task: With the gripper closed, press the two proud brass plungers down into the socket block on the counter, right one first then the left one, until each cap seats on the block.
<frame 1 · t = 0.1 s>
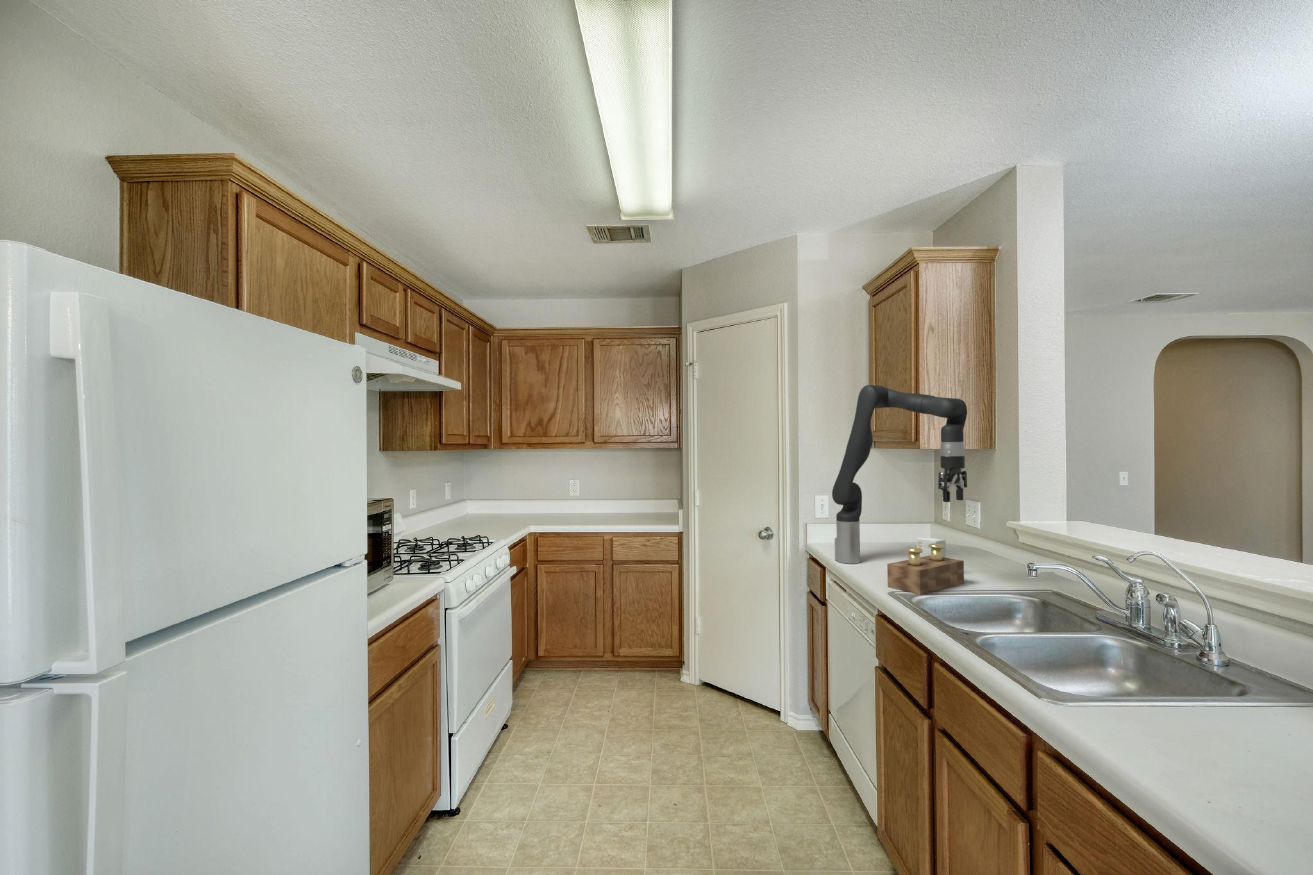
hand: (953, 501, 190), 29 cm above the worktop, fingers open, 8 cm apart
plunger right: (914, 561, 186), point 9 cm above the worktop, slide at 0.0 cm
small box: (931, 573, 206), on the worktop
socket block: (926, 585, 189), on the worktop
plunger left: (936, 556, 193), point 9 cm above the worktop, slide at 0.0 cm
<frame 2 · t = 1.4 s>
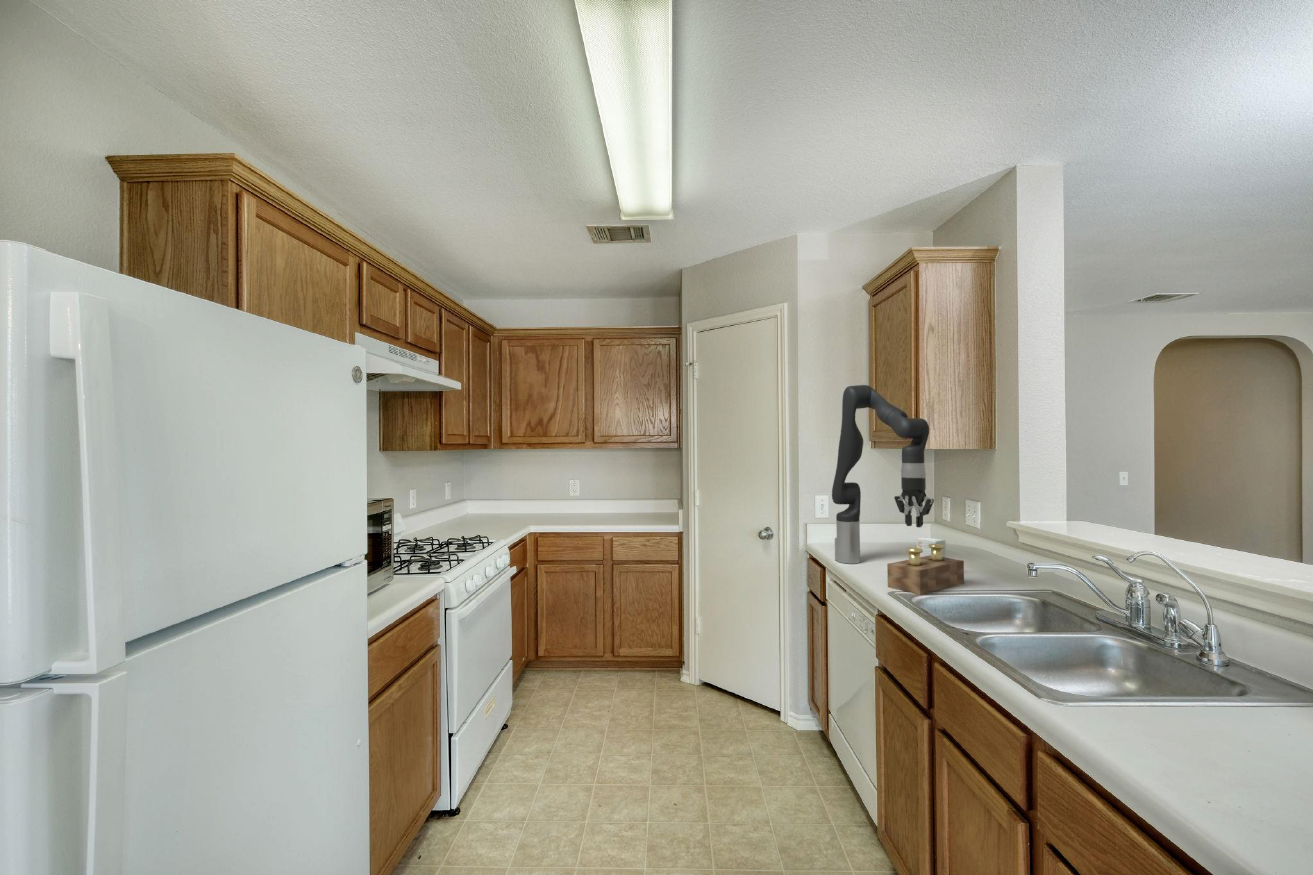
hand: (914, 526, 186), 21 cm above the worktop, fingers open, 3 cm apart
nothing on the worktop moved.
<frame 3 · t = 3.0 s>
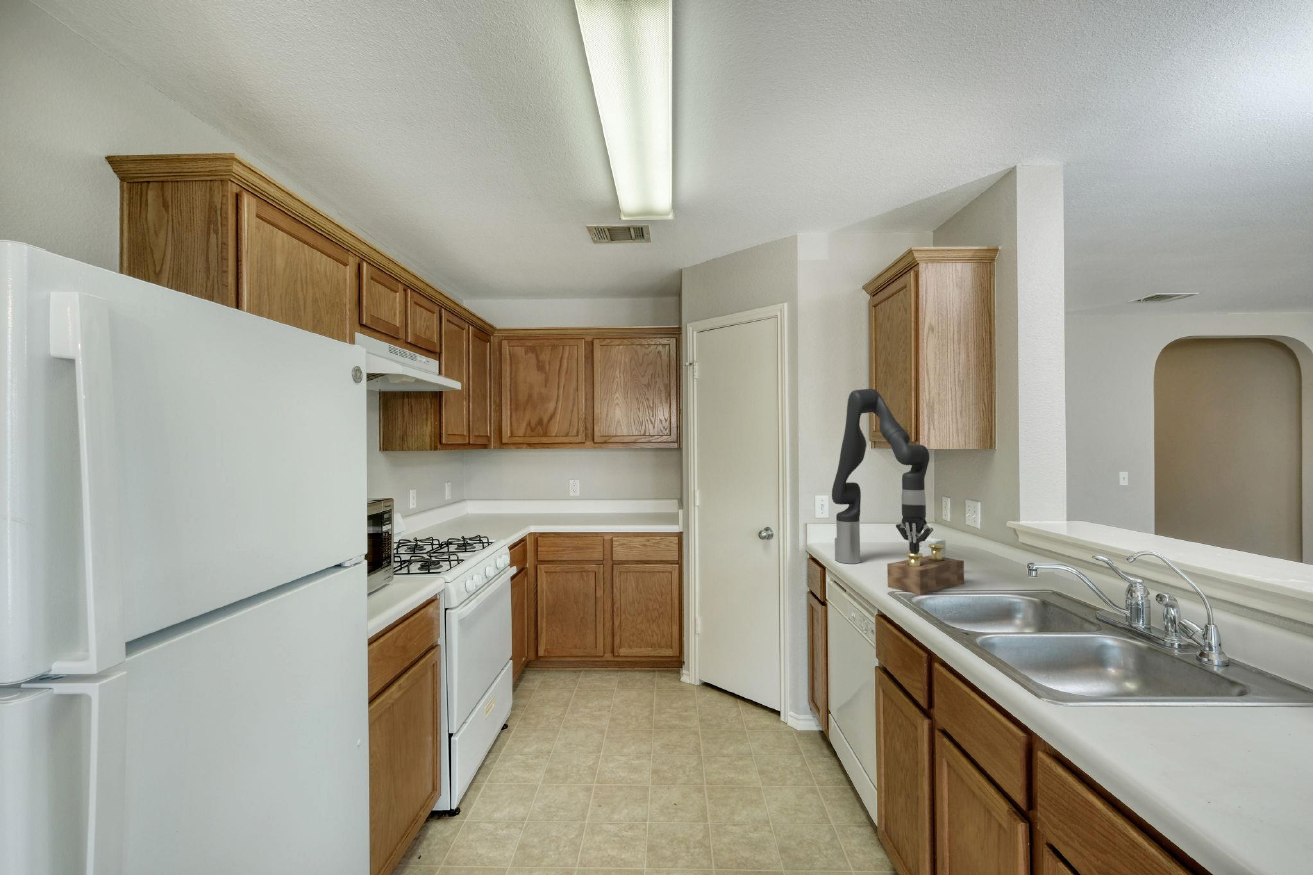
hand: (914, 553, 186), 12 cm above the worktop, fingers closed
plunger right: (914, 565, 186), point 8 cm above the worktop, slide at 1.6 cm, touching gripper
everything else where it was.
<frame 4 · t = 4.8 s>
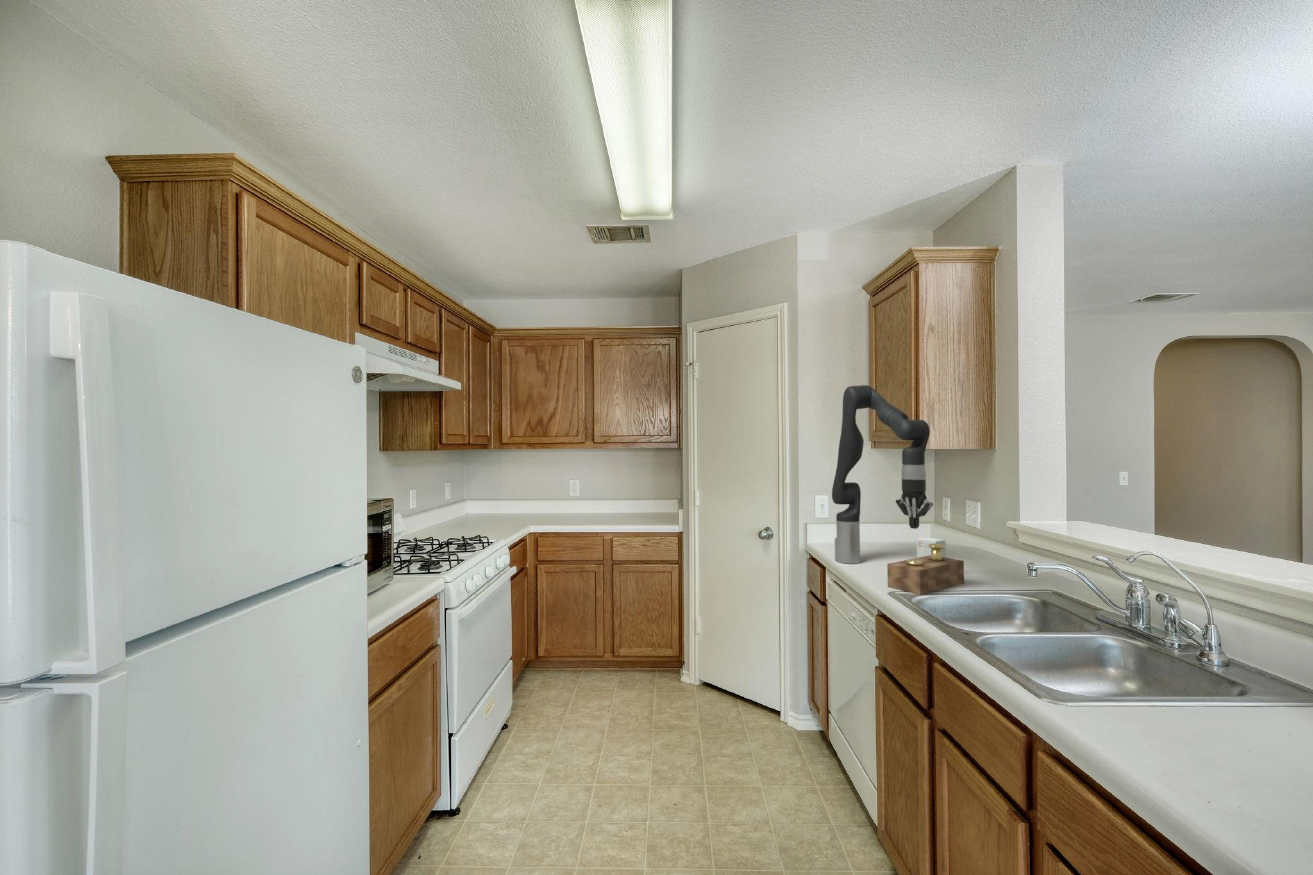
hand: (914, 528, 186), 20 cm above the worktop, fingers closed
plunger right: (914, 573, 186), point 5 cm above the worktop, slide at 4.3 cm
everything else where it was.
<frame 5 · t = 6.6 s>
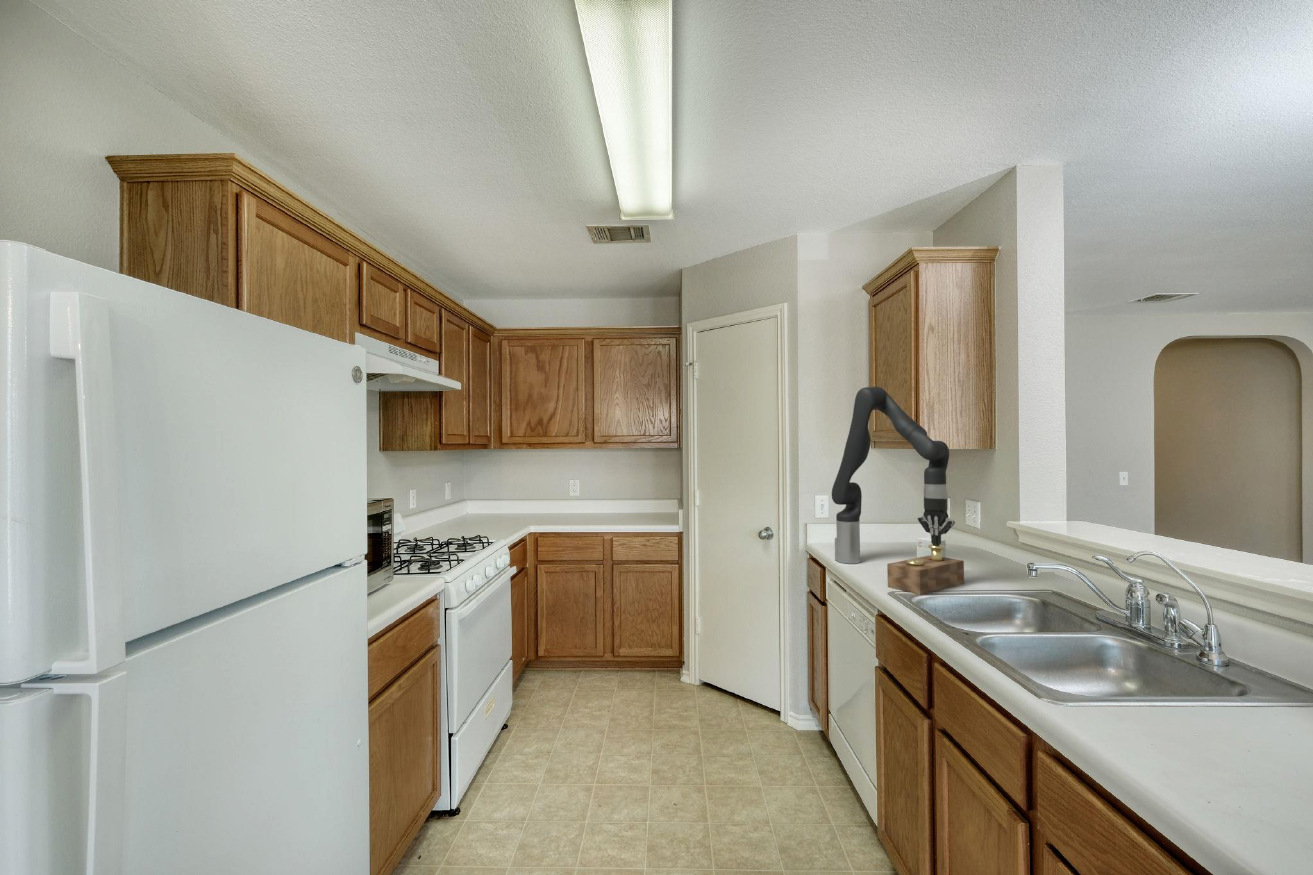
hand: (936, 545, 193), 13 cm above the worktop, fingers closed
plunger left: (936, 557, 193), point 9 cm above the worktop, slide at 0.2 cm, touching gripper
everything else where it was.
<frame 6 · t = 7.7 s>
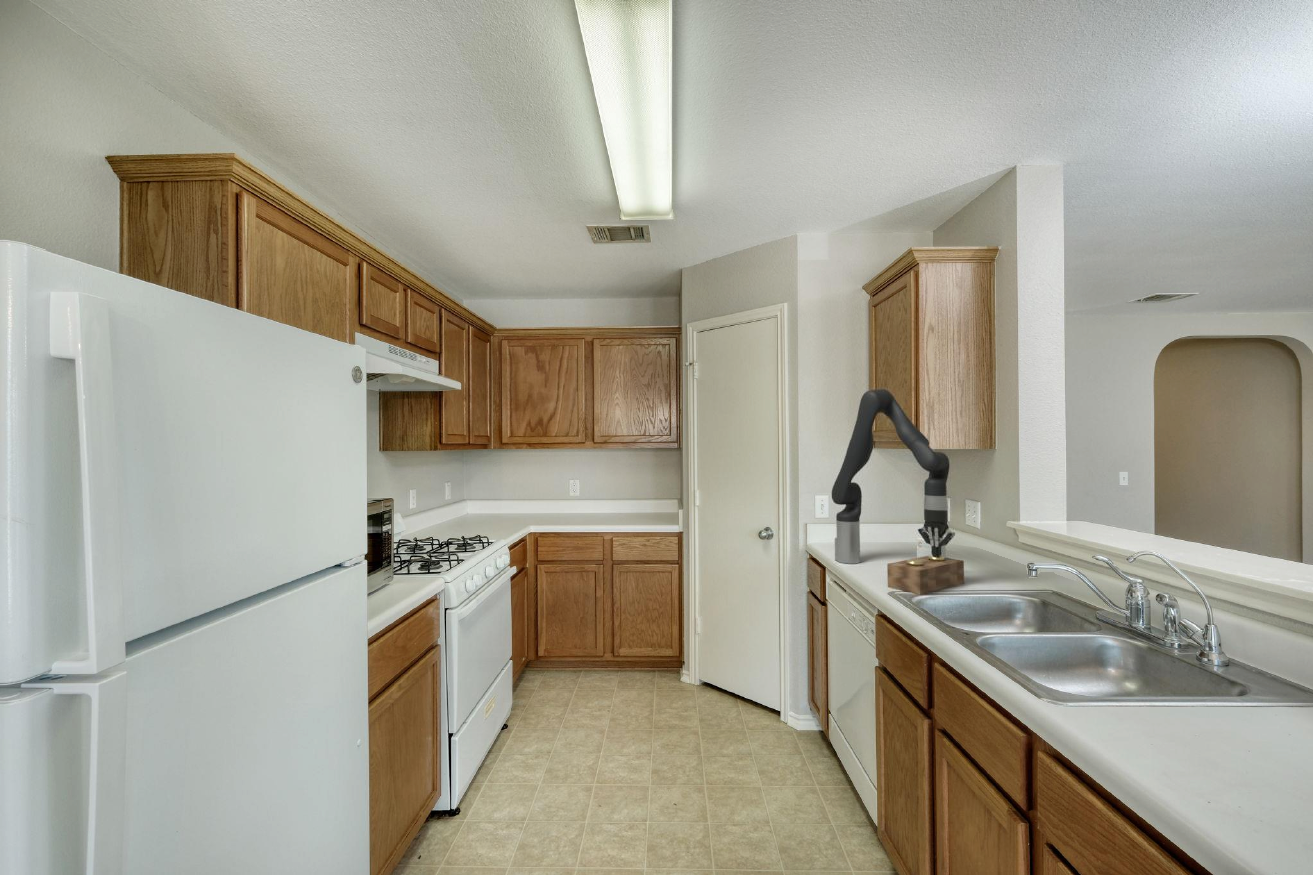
hand: (936, 556, 193), 9 cm above the worktop, fingers closed
plunger left: (936, 568, 193), point 5 cm above the worktop, slide at 4.3 cm, touching gripper
everything else where it was.
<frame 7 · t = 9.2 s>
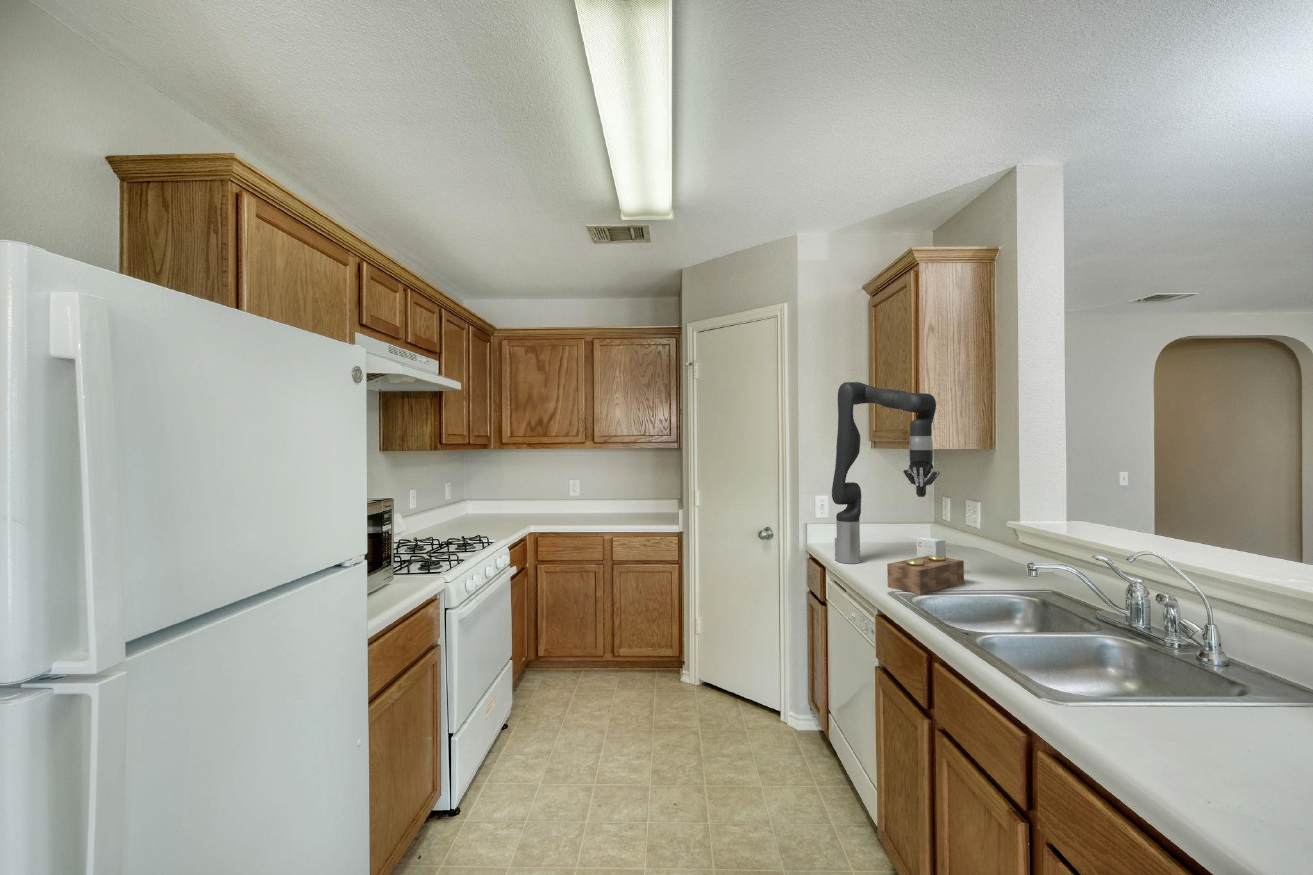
hand: (921, 496, 195), 30 cm above the worktop, fingers closed
plunger left: (936, 568, 193), point 5 cm above the worktop, slide at 4.3 cm
everything else where it was.
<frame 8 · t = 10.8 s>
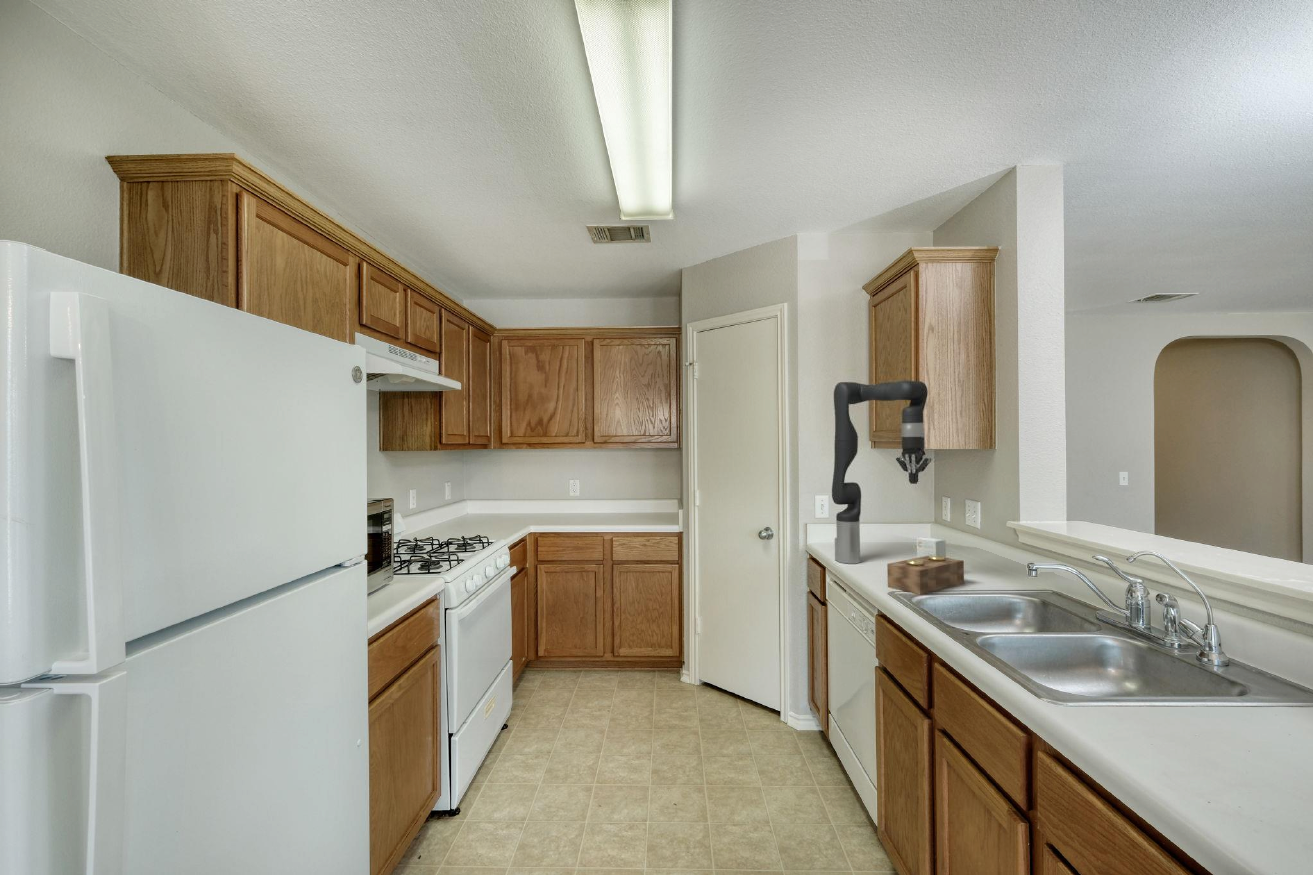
hand: (913, 483, 196), 35 cm above the worktop, fingers closed
nothing on the worktop moved.
at the end: plunger right slide at 4.3 cm; plunger left slide at 4.3 cm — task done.
